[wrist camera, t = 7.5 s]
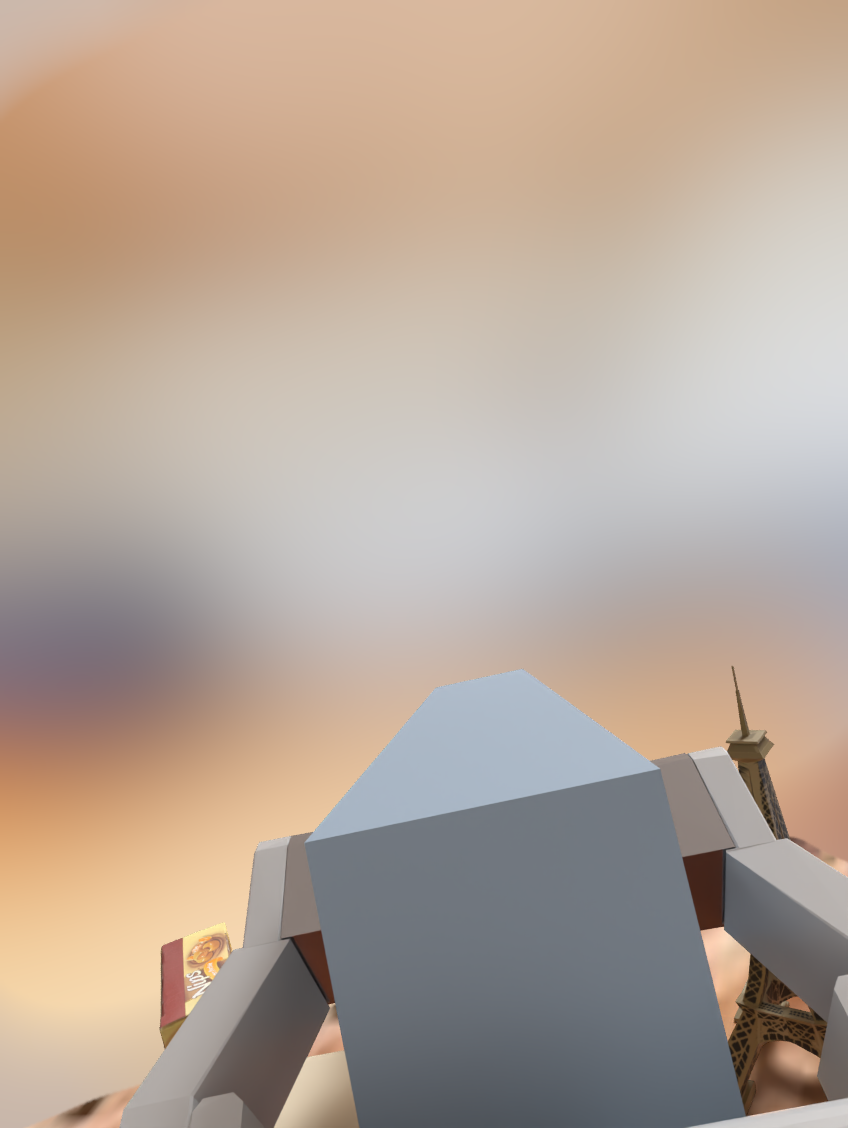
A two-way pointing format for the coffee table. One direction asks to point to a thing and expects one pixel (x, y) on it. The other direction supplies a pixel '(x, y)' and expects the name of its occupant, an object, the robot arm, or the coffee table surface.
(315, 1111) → the stand
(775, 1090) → the coffee table surface
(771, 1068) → the coffee table surface
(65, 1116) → the coffee table surface
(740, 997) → the eiffel tower
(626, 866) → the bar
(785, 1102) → the coffee table surface
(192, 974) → the candy box
